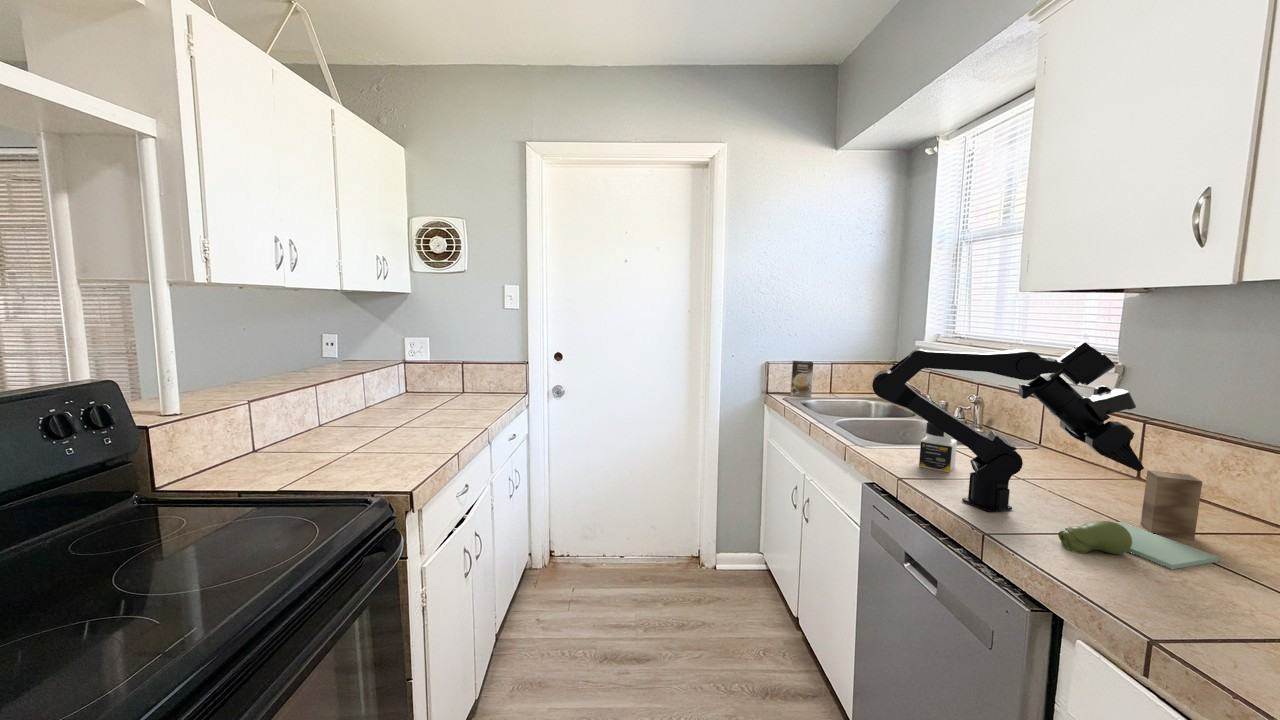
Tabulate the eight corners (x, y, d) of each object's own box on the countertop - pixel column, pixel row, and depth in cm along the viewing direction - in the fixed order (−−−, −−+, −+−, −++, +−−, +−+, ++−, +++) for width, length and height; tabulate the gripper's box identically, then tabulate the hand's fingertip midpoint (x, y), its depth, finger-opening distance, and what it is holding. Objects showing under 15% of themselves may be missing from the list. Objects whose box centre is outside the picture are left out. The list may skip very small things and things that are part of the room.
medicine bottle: (918, 466, 133) (921, 421, 131) (924, 460, 138) (927, 417, 137) (950, 472, 128) (953, 426, 127) (955, 466, 133) (958, 421, 132)
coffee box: (790, 396, 232) (792, 361, 230) (790, 394, 238) (791, 360, 236) (811, 397, 230) (813, 362, 228) (811, 395, 236) (812, 361, 234)
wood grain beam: (1150, 533, 95) (1158, 476, 94) (1140, 524, 98) (1147, 470, 97) (1194, 539, 92) (1202, 481, 91) (1182, 530, 96) (1189, 474, 95)
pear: (1139, 528, 84) (1070, 532, 86) (1142, 559, 84) (1072, 562, 86) (1115, 515, 89) (1050, 518, 91) (1118, 543, 90) (1053, 546, 92)
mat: (1077, 531, 95) (1078, 527, 95) (1120, 525, 98) (1120, 521, 98) (1171, 569, 82) (1172, 564, 81) (1218, 561, 84) (1218, 556, 84)
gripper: (1125, 380, 88) (1203, 450, 85) (1084, 368, 105) (1148, 426, 102) (1064, 420, 93) (1136, 487, 89) (1034, 402, 109) (1094, 459, 106)
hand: (1129, 462), depth 97 cm, fingers open, 9 cm apart
